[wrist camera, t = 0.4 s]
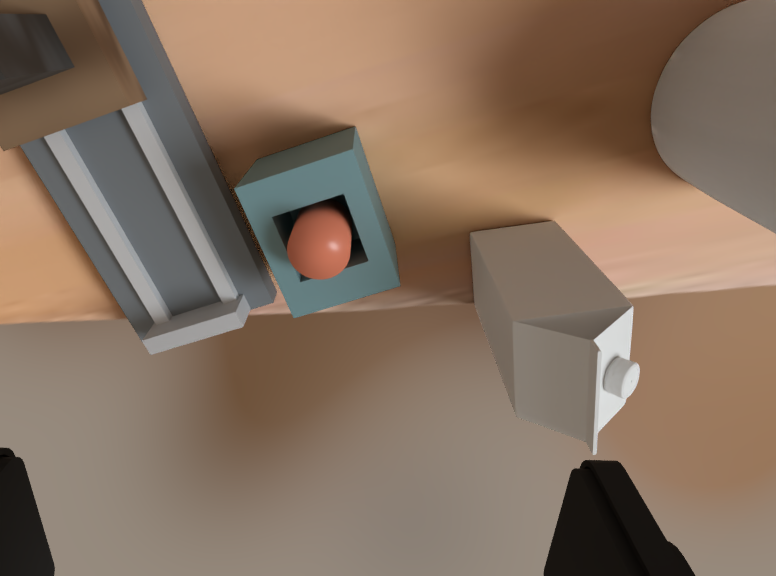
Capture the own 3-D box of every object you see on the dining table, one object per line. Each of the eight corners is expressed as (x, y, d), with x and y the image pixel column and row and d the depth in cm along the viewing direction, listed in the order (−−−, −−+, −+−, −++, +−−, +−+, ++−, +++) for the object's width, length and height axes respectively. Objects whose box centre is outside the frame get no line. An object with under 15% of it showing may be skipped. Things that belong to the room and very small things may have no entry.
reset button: (287, 207, 38) (277, 232, 34) (341, 190, 38) (337, 213, 33) (308, 256, 40) (301, 286, 36) (359, 240, 40) (358, 269, 35)
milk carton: (474, 305, 48) (532, 462, 31) (468, 230, 45) (530, 359, 28) (554, 295, 48) (657, 447, 31) (554, 219, 45) (669, 342, 28)
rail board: (-58, -14, 36) (-119, -19, 31) (104, -79, 35) (65, -94, 30) (151, 330, 48) (128, 362, 44) (277, 291, 47) (267, 320, 42)
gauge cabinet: (253, 160, 42) (229, 190, 35) (355, 126, 41) (352, 148, 34) (302, 272, 46) (289, 319, 39) (395, 243, 45) (400, 286, 38)
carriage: (-56, 1, 34) (-210, -5, 25) (73, -50, 33) (-39, -76, 24) (29, 141, 38) (-76, 180, 29) (147, 99, 37) (75, 125, 28)
